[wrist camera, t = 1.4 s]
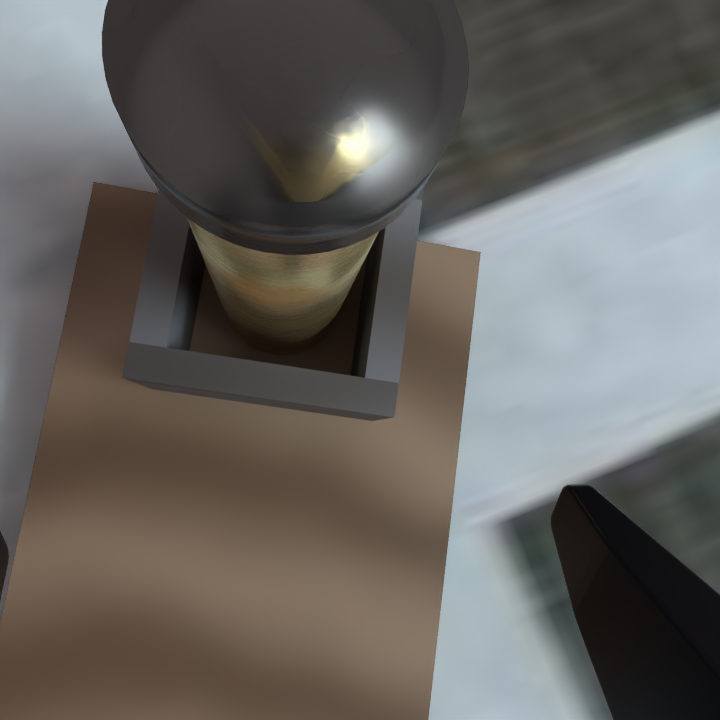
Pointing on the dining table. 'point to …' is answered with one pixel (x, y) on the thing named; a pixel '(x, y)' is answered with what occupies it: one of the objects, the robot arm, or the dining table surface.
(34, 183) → the dining table surface
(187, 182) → the brass peg
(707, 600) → the robot arm
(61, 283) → the dining table surface
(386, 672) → the board with square socket
